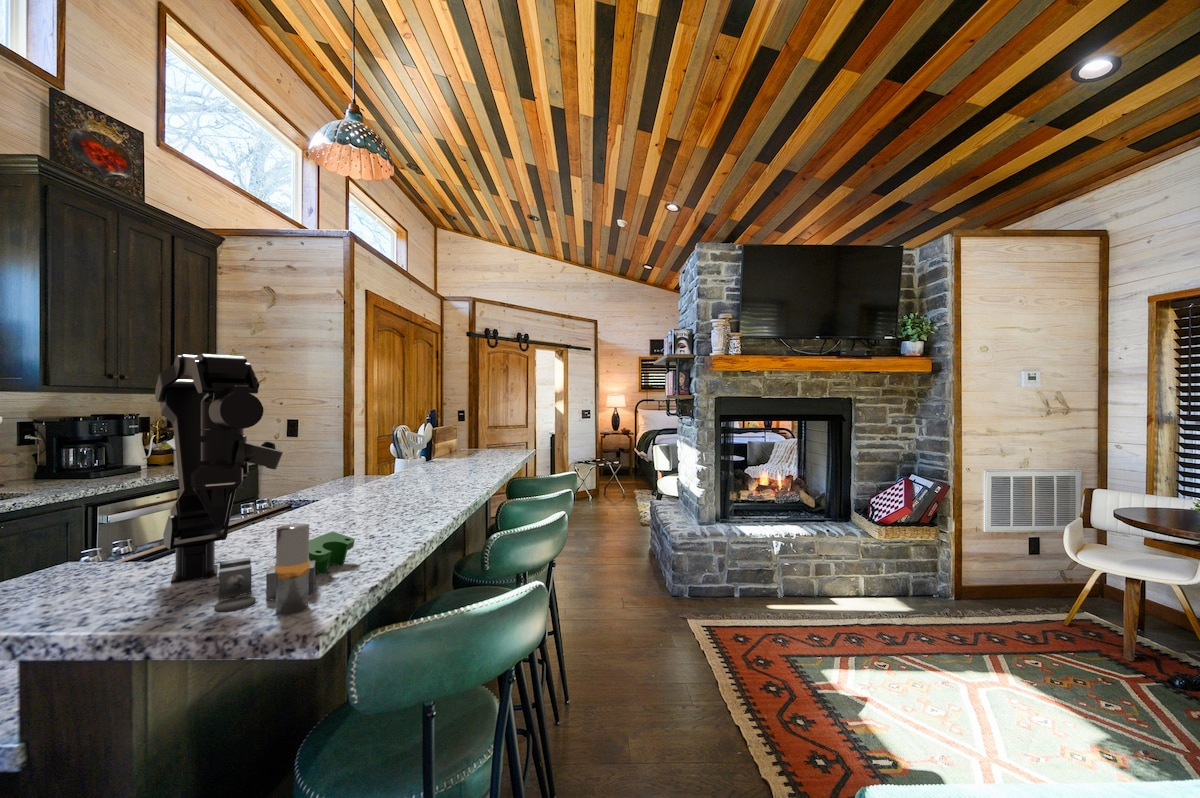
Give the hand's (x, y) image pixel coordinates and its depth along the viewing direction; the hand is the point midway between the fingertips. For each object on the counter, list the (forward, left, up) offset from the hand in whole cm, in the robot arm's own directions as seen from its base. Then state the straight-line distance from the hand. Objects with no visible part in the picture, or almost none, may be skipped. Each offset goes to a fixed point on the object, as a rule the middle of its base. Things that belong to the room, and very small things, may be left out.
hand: (223, 522), depth 82 cm
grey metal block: (-3, +2, -13) cm, 13 cm away
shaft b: (+4, +10, -13) cm, 16 cm away
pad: (+5, +2, -13) cm, 14 cm away
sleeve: (+12, +9, -13) cm, 20 cm away
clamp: (-6, +16, -13) cm, 21 cm away
